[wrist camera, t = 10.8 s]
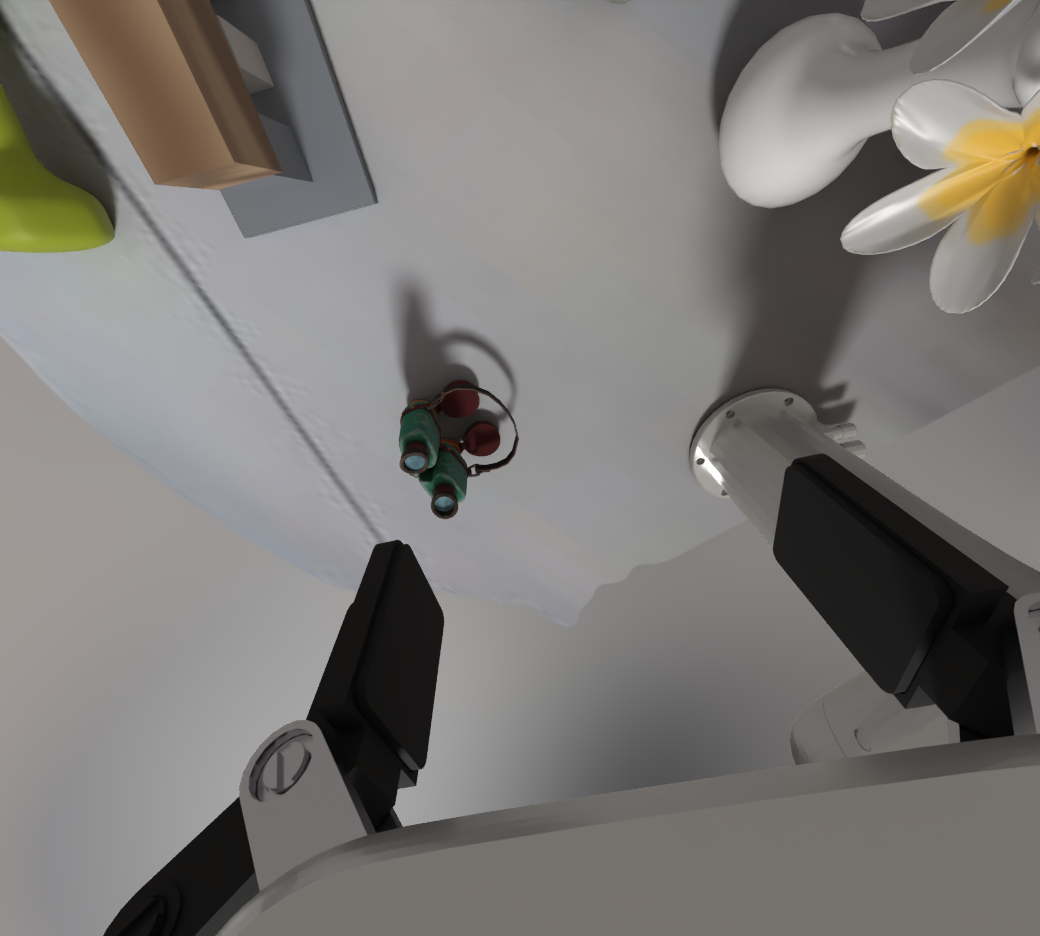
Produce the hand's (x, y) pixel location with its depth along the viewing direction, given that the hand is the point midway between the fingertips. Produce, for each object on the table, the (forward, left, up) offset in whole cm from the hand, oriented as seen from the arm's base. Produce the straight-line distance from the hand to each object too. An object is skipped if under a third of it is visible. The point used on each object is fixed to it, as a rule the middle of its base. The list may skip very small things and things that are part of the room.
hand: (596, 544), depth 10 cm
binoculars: (+8, +8, -29) cm, 31 cm away
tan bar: (+14, -18, -21) cm, 31 cm away
